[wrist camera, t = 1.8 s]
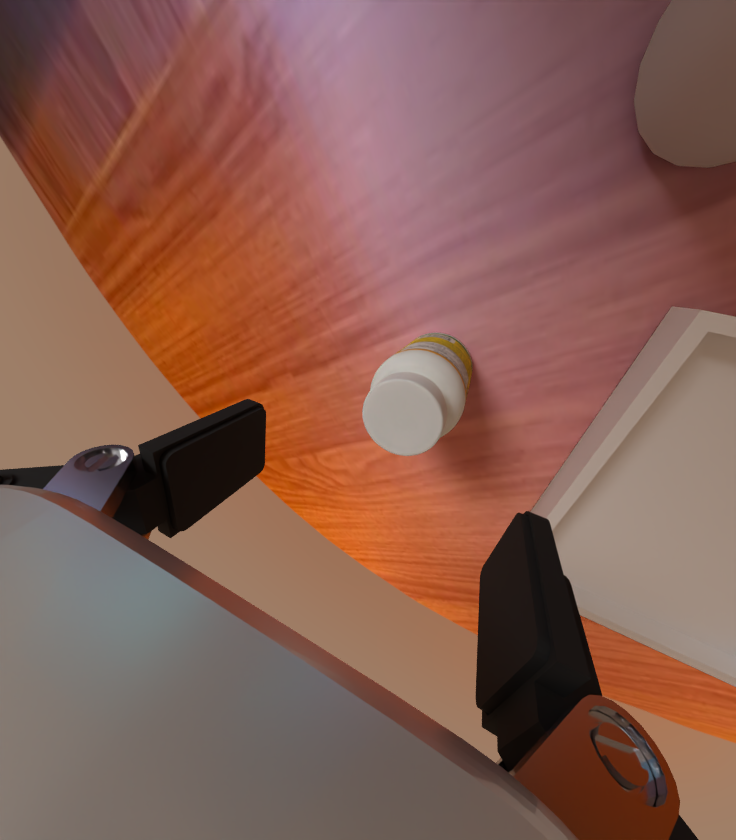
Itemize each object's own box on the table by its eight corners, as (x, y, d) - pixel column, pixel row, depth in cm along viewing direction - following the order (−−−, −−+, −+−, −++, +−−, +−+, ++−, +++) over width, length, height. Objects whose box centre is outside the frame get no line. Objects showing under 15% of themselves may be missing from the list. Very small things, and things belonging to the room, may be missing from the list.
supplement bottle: (446, 315, 19) (414, 337, 11) (487, 378, 20) (485, 440, 12) (388, 359, 22) (329, 401, 14) (426, 413, 23) (390, 482, 15)
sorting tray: (672, 306, 15) (701, 309, 13) (1219, 418, 11) (1396, 450, 9) (500, 554, 26) (501, 578, 24) (738, 660, 22) (764, 700, 19)
